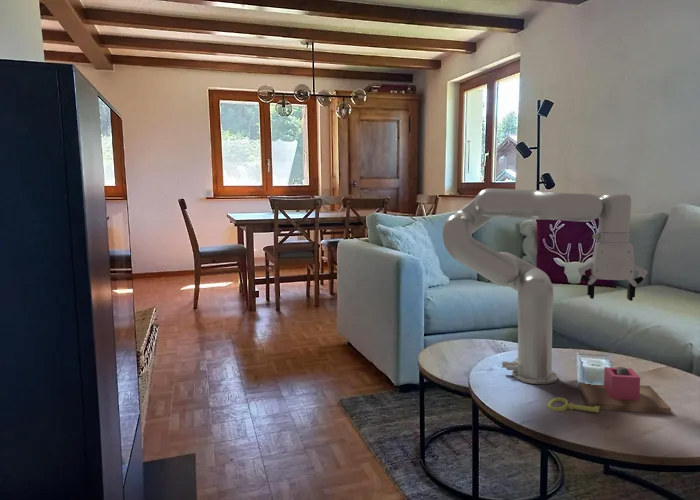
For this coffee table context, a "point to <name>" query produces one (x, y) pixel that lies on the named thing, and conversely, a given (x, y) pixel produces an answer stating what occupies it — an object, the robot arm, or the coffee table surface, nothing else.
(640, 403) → the bobbin stand
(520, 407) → the coffee table surface
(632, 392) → the sleeve
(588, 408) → the key
